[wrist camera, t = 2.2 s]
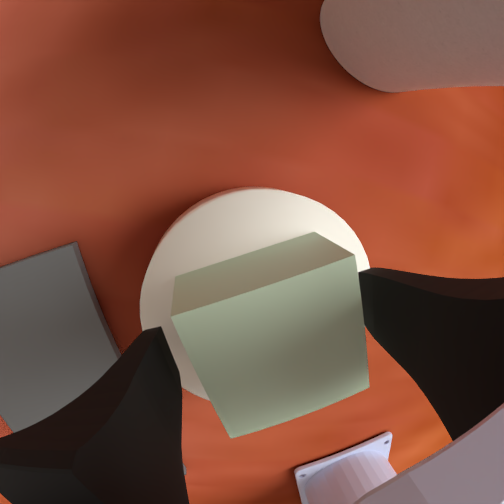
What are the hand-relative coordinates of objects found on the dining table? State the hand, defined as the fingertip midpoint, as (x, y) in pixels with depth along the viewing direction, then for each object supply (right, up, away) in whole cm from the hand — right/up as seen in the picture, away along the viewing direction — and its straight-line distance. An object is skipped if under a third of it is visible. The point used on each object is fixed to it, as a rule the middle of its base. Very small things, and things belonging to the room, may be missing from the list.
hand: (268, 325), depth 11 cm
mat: (-12, -6, +3) cm, 14 cm away
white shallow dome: (-1, +1, +4) cm, 4 cm away
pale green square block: (0, 0, +1) cm, 1 cm away
